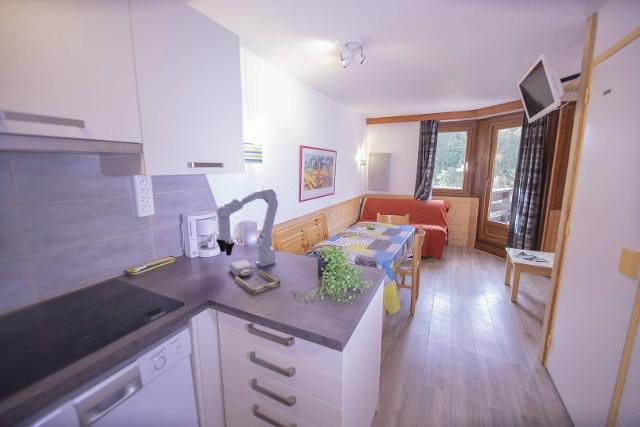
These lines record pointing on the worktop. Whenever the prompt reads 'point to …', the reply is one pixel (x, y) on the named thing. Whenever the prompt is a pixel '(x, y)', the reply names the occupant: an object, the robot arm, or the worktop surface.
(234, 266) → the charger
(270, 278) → the frame
